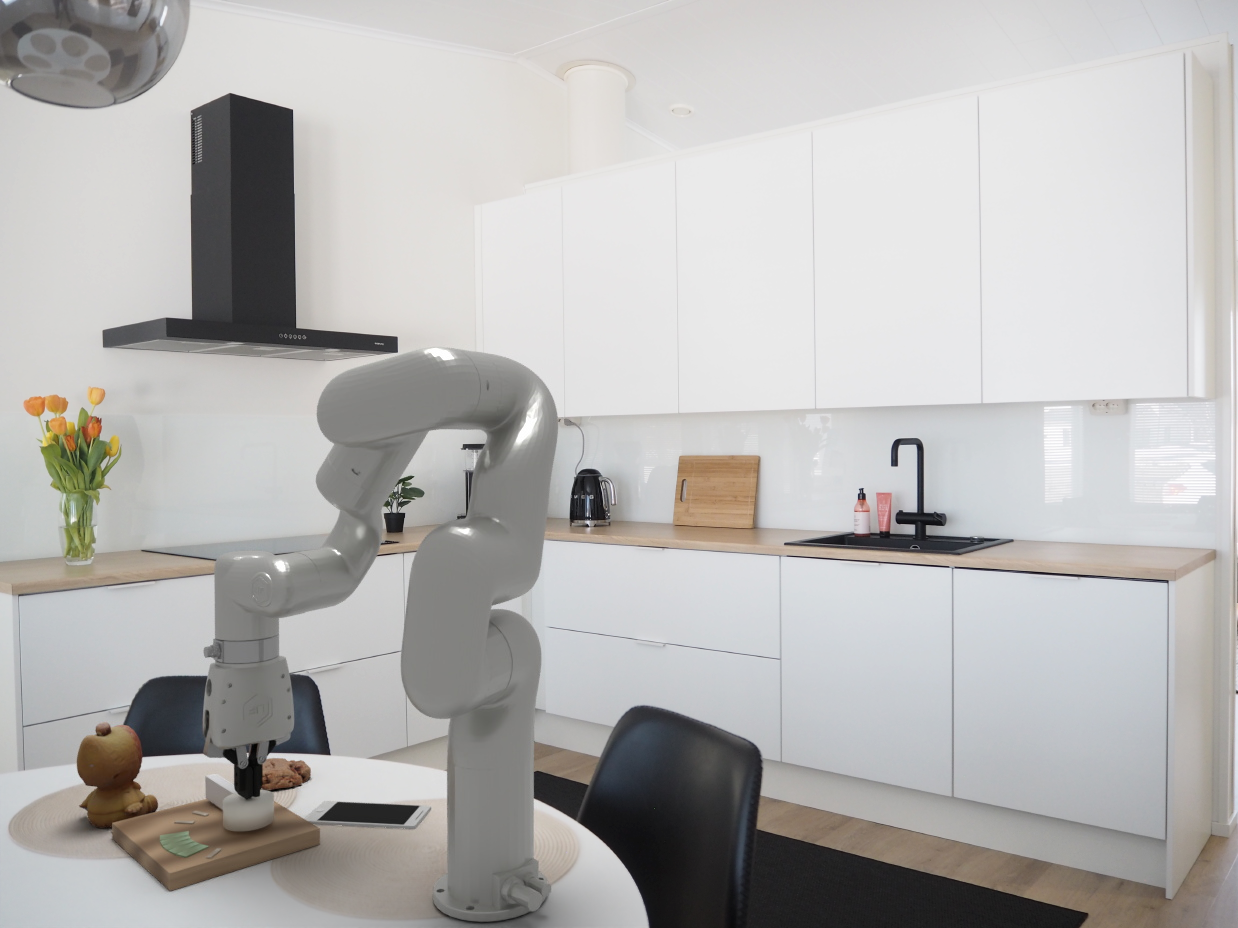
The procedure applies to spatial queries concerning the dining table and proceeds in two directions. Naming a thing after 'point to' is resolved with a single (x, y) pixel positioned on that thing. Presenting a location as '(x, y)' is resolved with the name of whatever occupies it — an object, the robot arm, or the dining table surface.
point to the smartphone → (368, 814)
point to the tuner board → (207, 842)
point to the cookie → (284, 773)
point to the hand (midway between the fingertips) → (248, 794)
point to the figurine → (113, 775)
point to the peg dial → (239, 805)
